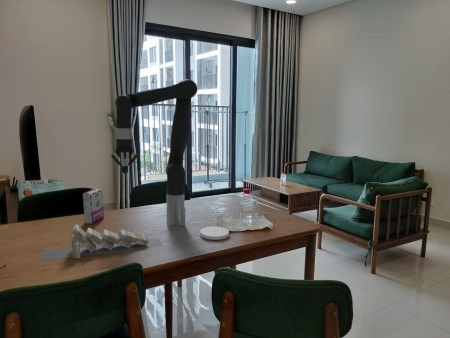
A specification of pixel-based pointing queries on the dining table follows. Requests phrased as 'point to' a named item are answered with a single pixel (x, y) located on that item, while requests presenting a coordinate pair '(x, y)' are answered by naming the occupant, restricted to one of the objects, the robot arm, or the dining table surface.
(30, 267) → the dining table surface
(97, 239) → the ivory domino
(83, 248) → the domino board
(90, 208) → the candy bar box
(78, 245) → the domino
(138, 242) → the ivory domino
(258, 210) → the dining table surface
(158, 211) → the dining table surface
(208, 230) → the plastic lid
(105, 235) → the ivory domino
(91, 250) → the ivory domino
